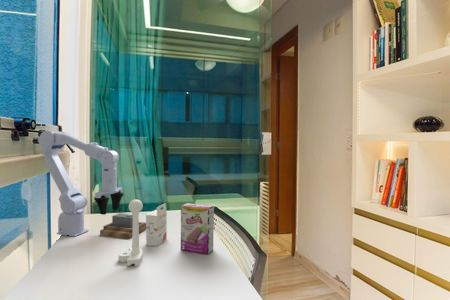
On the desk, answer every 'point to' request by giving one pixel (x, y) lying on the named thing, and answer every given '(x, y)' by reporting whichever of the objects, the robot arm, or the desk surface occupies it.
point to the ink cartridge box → (156, 226)
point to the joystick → (133, 237)
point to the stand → (120, 230)
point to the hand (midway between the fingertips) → (109, 212)
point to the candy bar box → (197, 228)
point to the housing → (122, 220)
